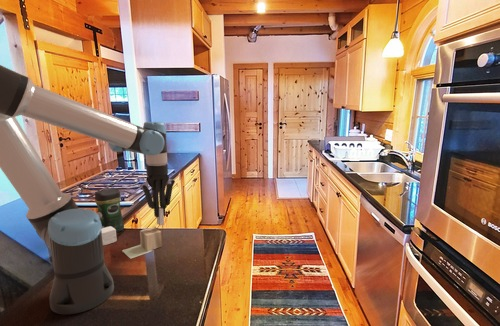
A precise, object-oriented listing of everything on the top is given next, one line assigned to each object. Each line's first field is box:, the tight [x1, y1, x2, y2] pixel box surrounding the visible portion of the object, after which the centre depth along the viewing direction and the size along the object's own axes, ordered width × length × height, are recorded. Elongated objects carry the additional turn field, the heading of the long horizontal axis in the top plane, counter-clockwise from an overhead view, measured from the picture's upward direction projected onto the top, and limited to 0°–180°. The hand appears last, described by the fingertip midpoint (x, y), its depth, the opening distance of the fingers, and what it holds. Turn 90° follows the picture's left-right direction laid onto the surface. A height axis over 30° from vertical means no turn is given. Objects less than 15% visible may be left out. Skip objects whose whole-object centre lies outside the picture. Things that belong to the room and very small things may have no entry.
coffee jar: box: [94, 187, 125, 233], centre depth 117 cm, size 10×8×19 cm
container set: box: [101, 226, 117, 246], centre depth 103 cm, size 20×5×6 cm, turn 138°
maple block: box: [139, 226, 164, 251], centre depth 105 cm, size 6×6×6 cm
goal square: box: [121, 244, 153, 260], centre depth 102 cm, size 8×8×1 cm
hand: (160, 224), depth 107 cm, fingers closed
